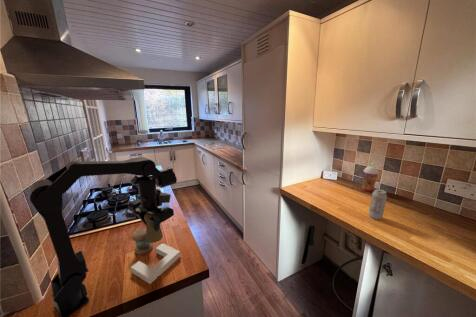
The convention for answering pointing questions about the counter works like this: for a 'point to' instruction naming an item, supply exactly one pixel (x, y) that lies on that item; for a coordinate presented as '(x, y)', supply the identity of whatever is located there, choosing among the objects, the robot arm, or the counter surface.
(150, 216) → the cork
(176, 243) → the counter surface
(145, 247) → the brown spool-shaped piece
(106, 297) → the counter surface
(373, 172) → the smoothie
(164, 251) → the notched board
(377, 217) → the energy drink can
